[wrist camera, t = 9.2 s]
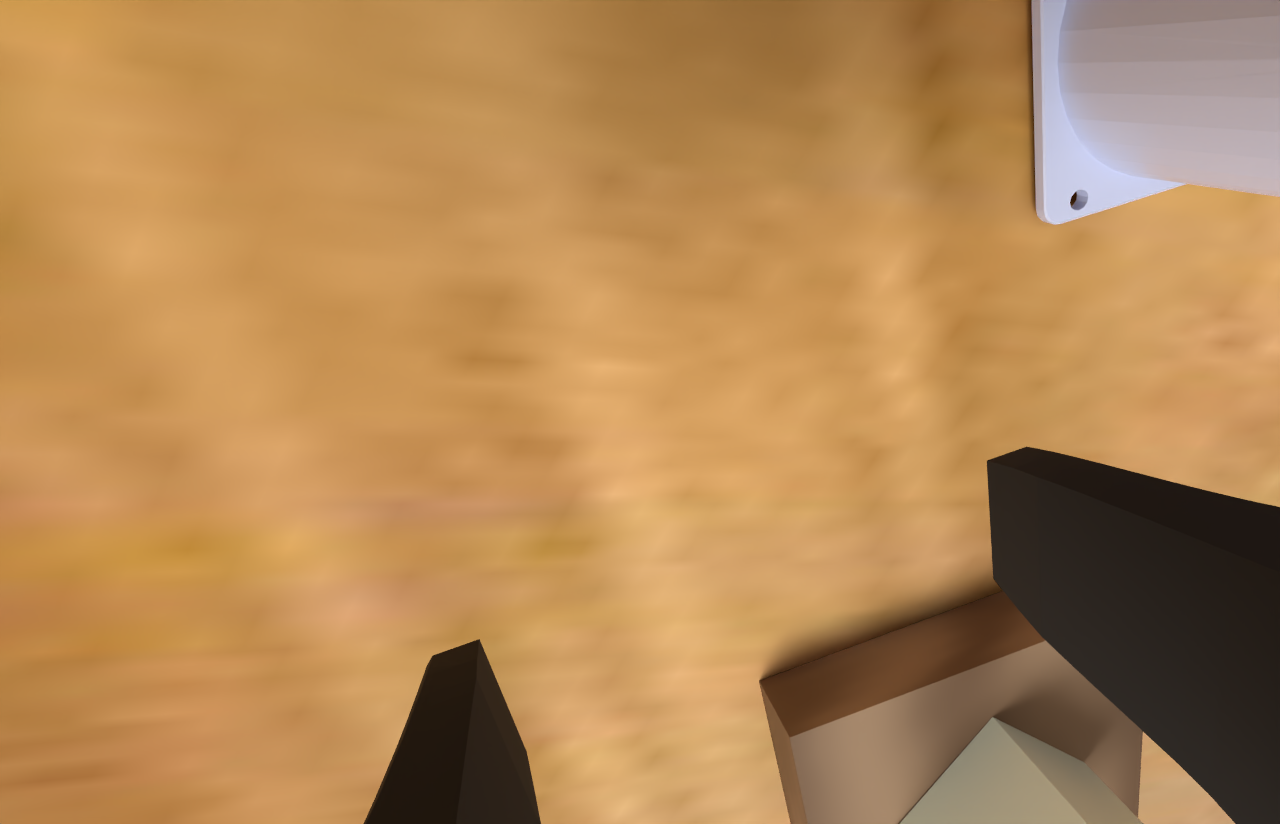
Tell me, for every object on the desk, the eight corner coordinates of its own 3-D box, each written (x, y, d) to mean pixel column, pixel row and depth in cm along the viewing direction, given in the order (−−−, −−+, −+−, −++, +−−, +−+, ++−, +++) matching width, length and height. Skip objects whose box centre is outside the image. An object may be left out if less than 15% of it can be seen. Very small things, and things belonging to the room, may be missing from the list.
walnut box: (1079, 549, 27) (1149, 601, 25) (1077, 787, 32) (1135, 852, 30) (752, 669, 26) (789, 737, 23) (804, 898, 31) (839, 976, 28)
